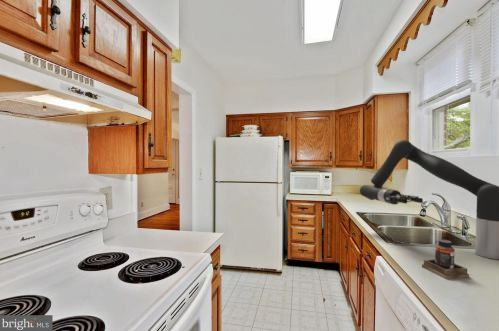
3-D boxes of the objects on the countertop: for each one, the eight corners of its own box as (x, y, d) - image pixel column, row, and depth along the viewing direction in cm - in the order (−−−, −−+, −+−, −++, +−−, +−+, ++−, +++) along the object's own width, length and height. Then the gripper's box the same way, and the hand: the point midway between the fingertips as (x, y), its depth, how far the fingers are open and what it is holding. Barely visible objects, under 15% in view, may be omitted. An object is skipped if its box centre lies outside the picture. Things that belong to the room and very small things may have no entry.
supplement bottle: (457, 273, 93) (458, 244, 93) (439, 271, 94) (440, 242, 94) (448, 266, 99) (449, 239, 99) (431, 265, 100) (432, 237, 100)
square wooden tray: (442, 265, 102) (443, 258, 102) (469, 277, 92) (469, 269, 92) (421, 266, 101) (421, 259, 101) (446, 279, 90) (446, 271, 90)
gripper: (377, 189, 130) (401, 193, 114) (400, 189, 133) (427, 192, 117) (377, 203, 130) (401, 209, 114) (400, 202, 133) (427, 208, 117)
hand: (414, 201), depth 116 cm, fingers open, 8 cm apart
